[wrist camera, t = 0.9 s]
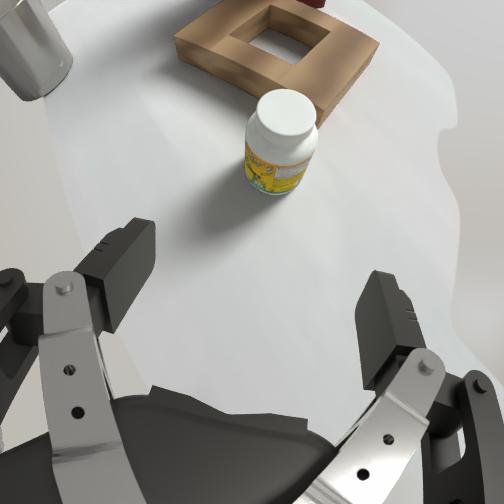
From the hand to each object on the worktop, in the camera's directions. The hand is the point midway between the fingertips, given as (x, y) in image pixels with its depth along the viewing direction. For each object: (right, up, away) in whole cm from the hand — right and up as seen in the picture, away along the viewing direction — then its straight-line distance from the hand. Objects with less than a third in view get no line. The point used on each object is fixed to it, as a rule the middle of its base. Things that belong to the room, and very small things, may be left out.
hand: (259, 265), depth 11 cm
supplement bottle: (+2, +8, +18) cm, 19 cm away
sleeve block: (+3, +23, +20) cm, 31 cm away
